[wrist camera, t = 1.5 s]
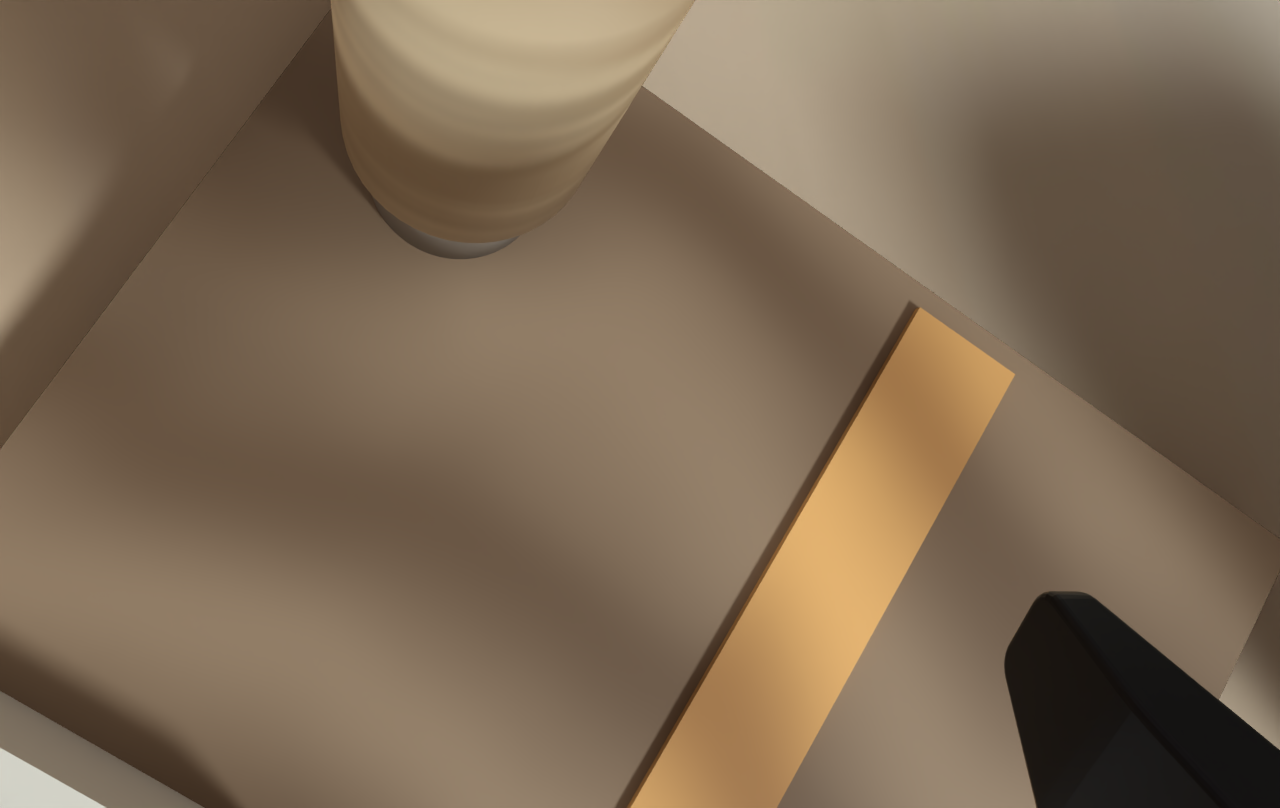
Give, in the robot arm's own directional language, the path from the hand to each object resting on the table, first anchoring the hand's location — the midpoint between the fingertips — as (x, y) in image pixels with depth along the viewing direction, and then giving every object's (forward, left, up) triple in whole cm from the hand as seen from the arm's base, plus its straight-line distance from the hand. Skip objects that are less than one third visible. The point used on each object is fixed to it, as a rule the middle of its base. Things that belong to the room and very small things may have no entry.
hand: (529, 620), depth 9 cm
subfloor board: (0, -4, -13) cm, 14 cm away
